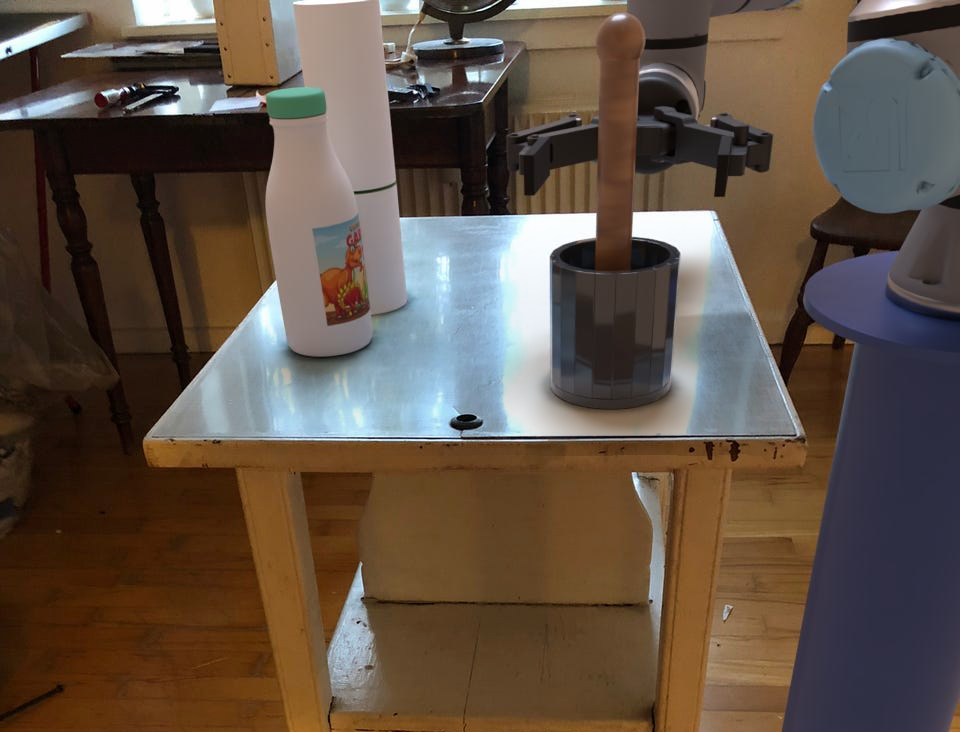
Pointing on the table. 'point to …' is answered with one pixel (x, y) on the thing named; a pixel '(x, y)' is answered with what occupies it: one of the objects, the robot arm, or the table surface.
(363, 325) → the milk bottle
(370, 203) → the cylindrical container
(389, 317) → the table surface
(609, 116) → the long cylindrical rod
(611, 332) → the slatted pencil holder
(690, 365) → the table surface
